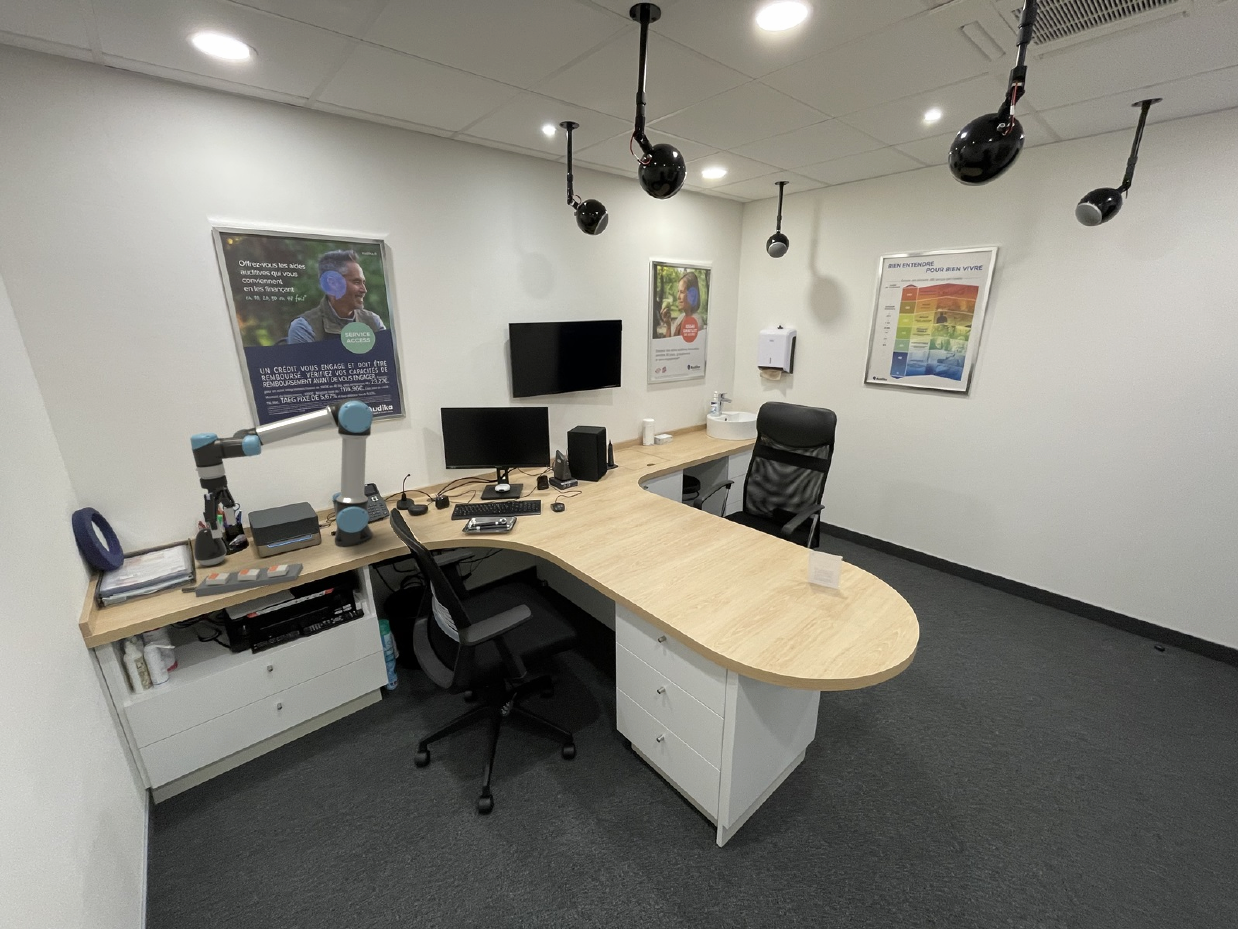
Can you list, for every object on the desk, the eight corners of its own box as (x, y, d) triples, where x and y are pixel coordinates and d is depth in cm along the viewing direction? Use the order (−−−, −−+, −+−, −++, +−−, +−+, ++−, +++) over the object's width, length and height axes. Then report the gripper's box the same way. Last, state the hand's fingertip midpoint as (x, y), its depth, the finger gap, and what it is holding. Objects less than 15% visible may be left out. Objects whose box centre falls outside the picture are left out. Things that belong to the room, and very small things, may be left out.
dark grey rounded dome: (211, 569, 196) (203, 534, 192) (190, 567, 197) (181, 532, 193) (235, 558, 205) (227, 524, 201) (214, 556, 207) (206, 523, 203)
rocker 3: (289, 569, 189) (288, 564, 188) (285, 574, 184) (284, 569, 184) (272, 571, 187) (271, 566, 186) (268, 577, 183) (267, 571, 182)
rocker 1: (230, 578, 183) (230, 572, 182) (225, 584, 178) (224, 578, 178) (211, 578, 181) (211, 573, 180) (206, 584, 176) (205, 579, 176)
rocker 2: (260, 574, 186) (260, 569, 185) (255, 580, 181) (255, 574, 181) (242, 574, 184) (242, 568, 183) (237, 580, 179) (237, 574, 179)
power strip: (303, 570, 196) (302, 562, 195) (296, 582, 186) (294, 574, 185) (189, 585, 183) (187, 577, 183) (175, 600, 173) (173, 591, 173)
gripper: (214, 468, 187) (226, 520, 193) (183, 487, 164) (198, 545, 170) (237, 466, 190) (248, 517, 195) (210, 484, 167) (224, 542, 173)
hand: (225, 530), depth 183 cm, fingers open, 13 cm apart
